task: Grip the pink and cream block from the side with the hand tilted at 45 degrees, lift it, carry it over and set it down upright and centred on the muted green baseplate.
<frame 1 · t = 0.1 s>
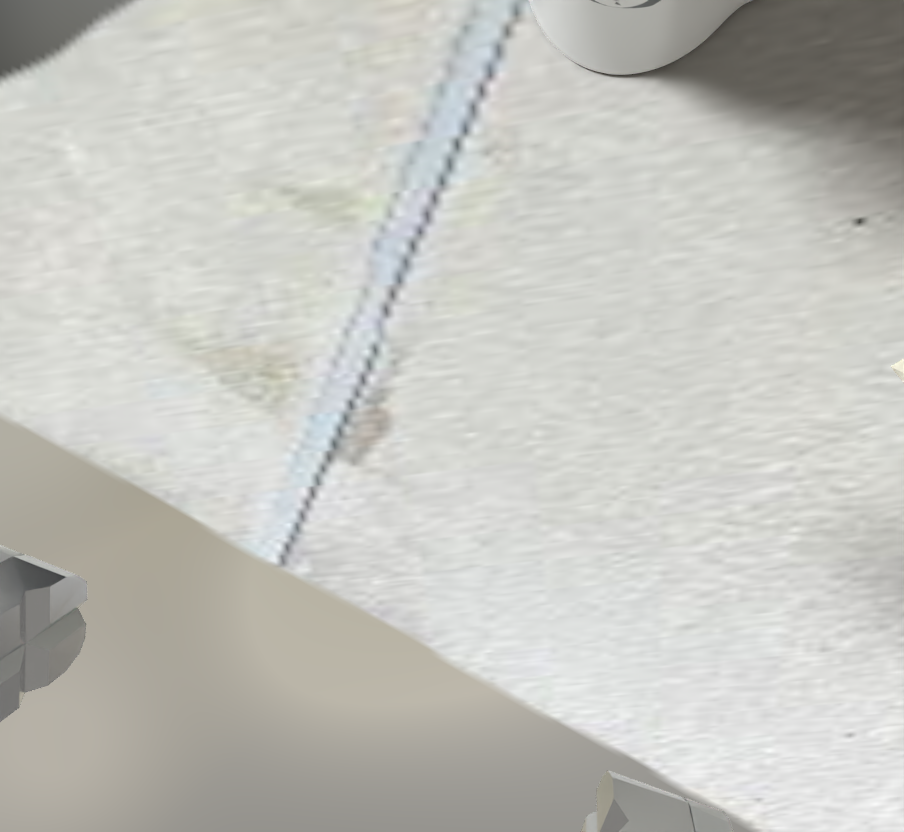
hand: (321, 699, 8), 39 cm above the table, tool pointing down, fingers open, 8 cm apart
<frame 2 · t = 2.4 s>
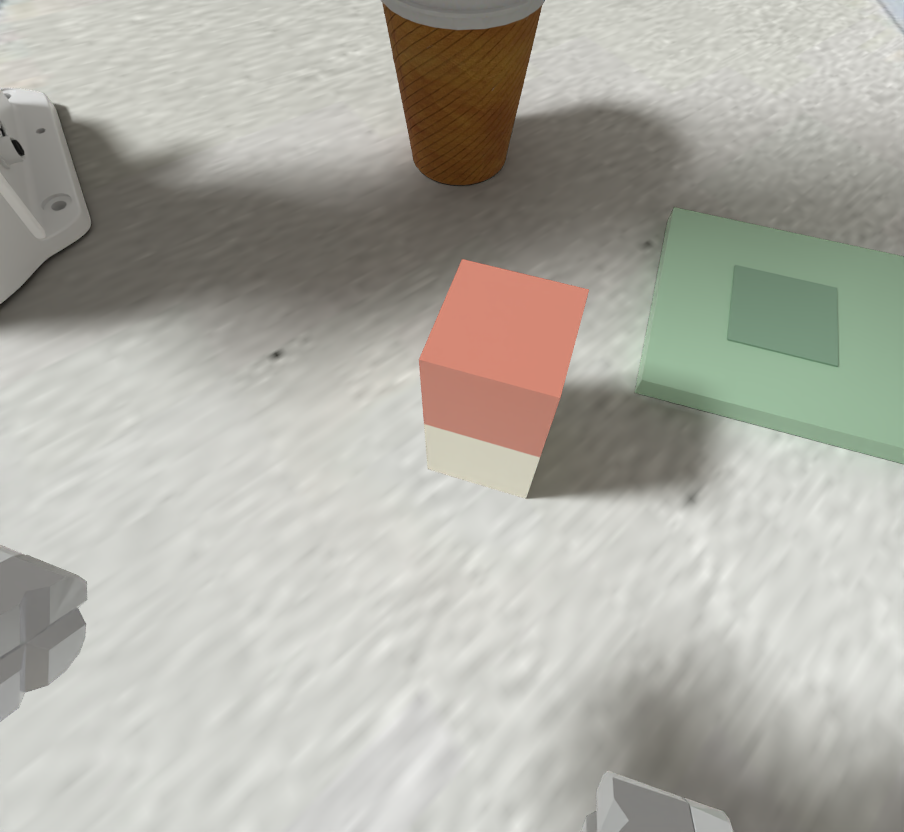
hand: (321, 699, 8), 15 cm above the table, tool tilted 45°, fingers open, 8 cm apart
pink and cream block: (490, 440, 27), on the table
baseplate: (771, 328, 31), on the table
disposable coffee cup: (459, 157, 38), on the table
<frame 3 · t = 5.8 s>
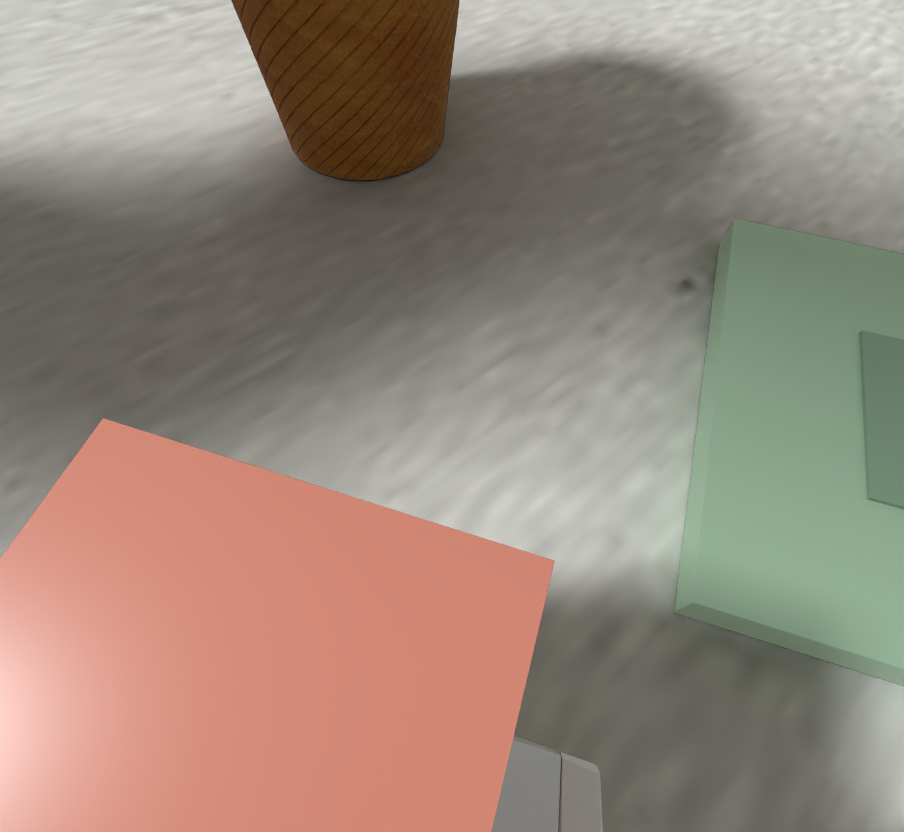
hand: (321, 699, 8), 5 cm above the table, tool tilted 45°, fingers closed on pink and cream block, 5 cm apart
pink and cream block: (354, 742, 12), on the table, touching gripper
disposable coffee cup: (367, 135, 23), on the table
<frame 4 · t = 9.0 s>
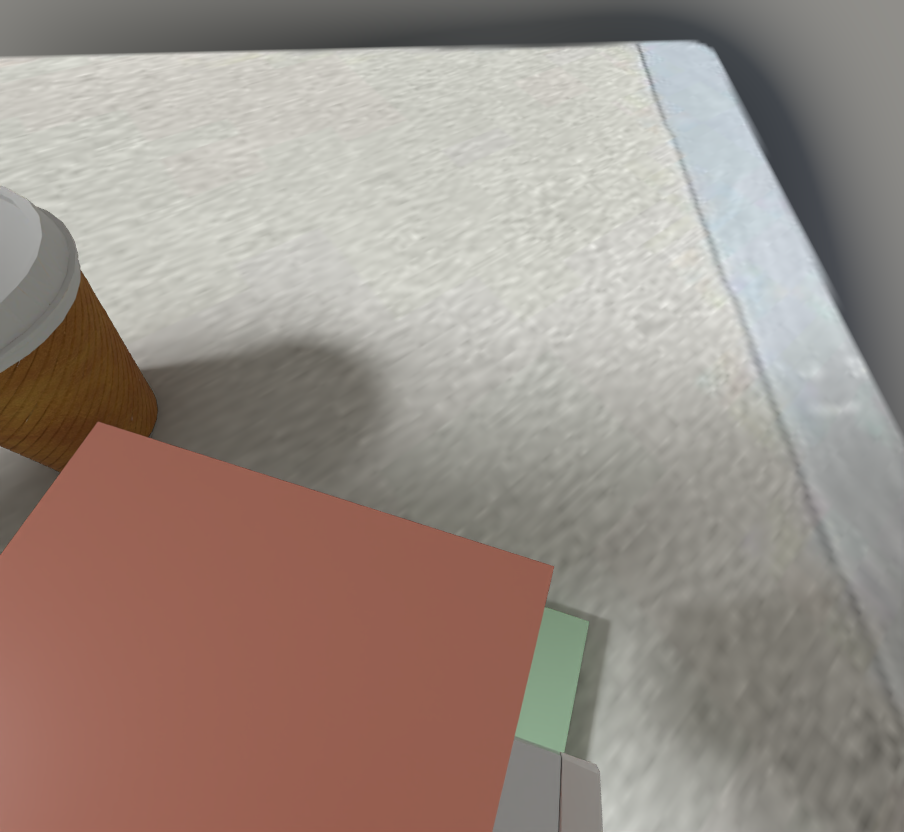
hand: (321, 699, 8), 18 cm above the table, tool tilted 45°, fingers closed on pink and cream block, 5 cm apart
pink and cream block: (353, 745, 12), point 13 cm above the table, touching gripper
baseplate: (398, 731, 23), on the table
disposable coffee cup: (100, 424, 30), on the table
when the fingers open (7 cm above the table, at t = 12.0 s): pink and cream block stays where it is, resting on baseplate.
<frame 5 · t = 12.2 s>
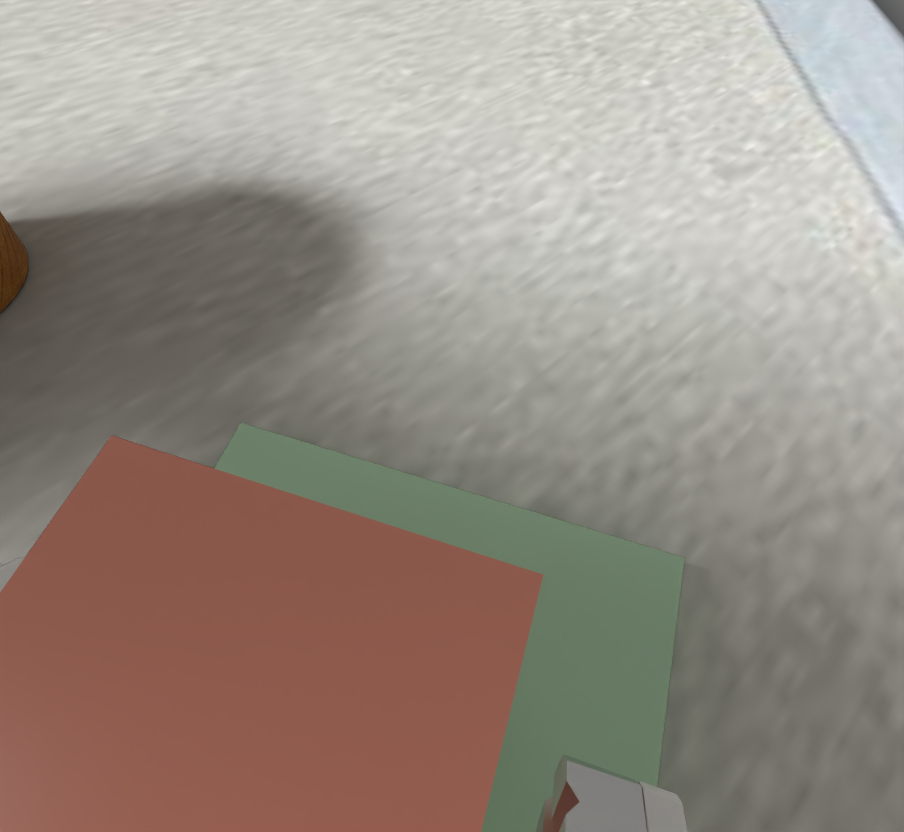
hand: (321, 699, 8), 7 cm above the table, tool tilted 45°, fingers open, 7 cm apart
pink and cream block: (353, 743, 12), point 1 cm above the table, touching baseplate
baseplate: (365, 741, 14), on the table
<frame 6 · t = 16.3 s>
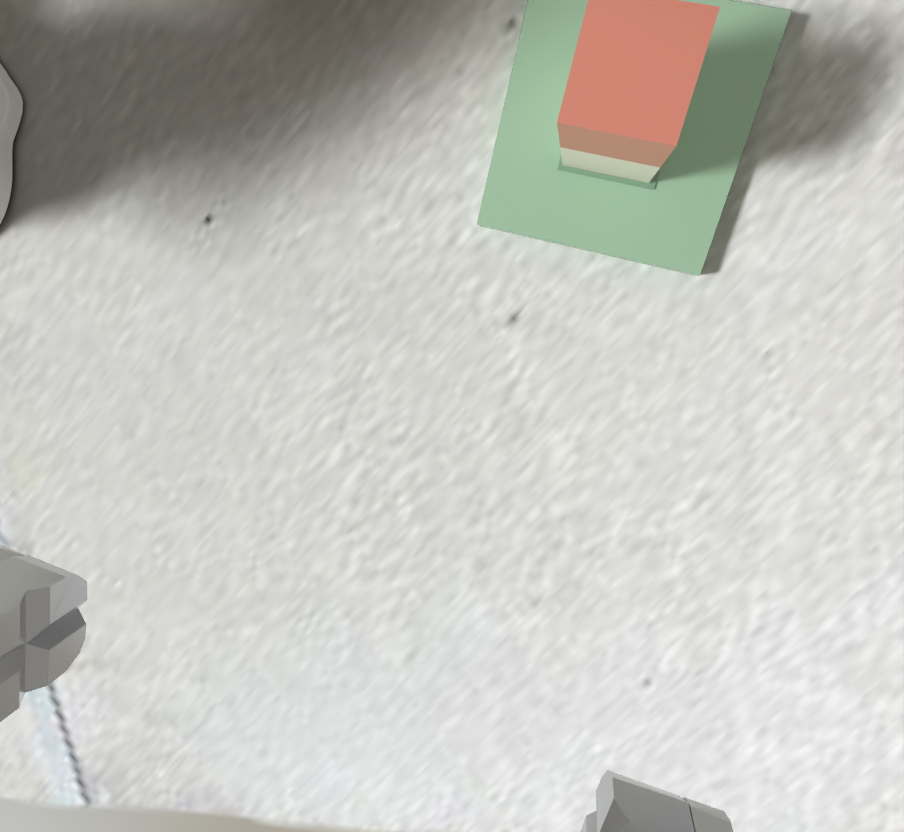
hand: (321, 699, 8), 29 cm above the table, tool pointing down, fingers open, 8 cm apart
pink and cream block: (618, 127, 30), point 1 cm above the table, touching baseplate
baseplate: (618, 132, 31), on the table
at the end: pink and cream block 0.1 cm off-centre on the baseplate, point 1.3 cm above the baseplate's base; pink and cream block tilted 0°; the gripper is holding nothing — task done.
